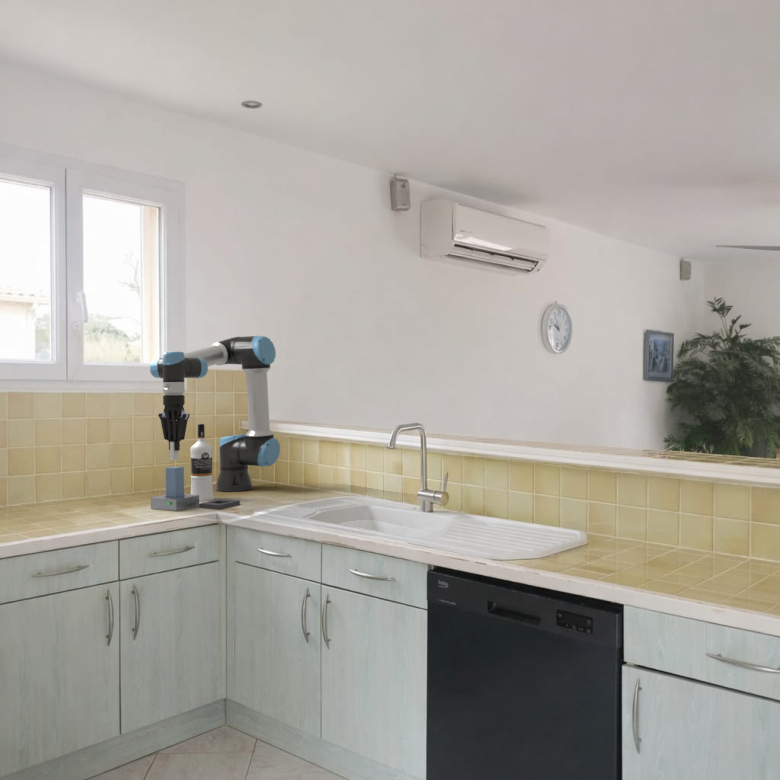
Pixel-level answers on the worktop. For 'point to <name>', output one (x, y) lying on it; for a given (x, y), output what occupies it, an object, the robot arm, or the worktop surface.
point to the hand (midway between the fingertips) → (174, 459)
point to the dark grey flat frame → (219, 504)
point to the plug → (174, 482)
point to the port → (174, 502)
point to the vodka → (201, 467)
